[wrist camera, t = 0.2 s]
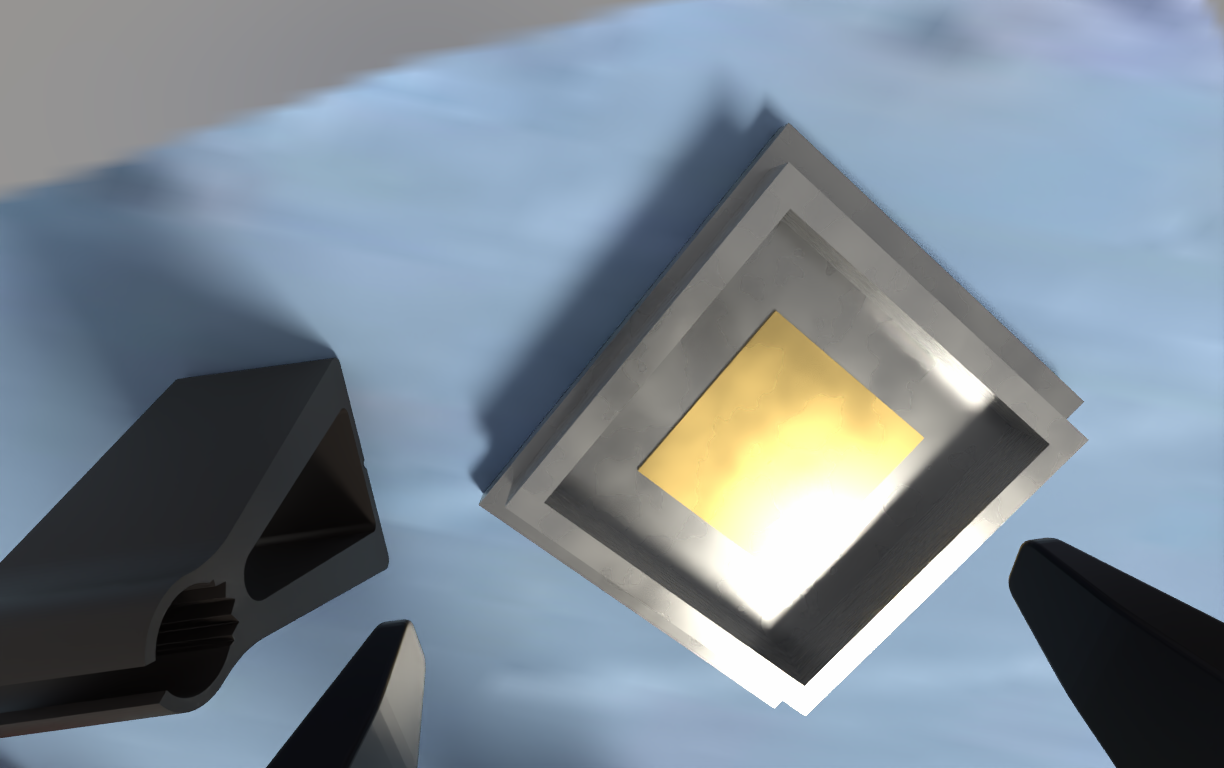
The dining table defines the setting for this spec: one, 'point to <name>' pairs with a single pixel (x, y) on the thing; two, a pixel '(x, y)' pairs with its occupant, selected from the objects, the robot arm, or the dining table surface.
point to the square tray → (789, 435)
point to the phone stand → (187, 549)
